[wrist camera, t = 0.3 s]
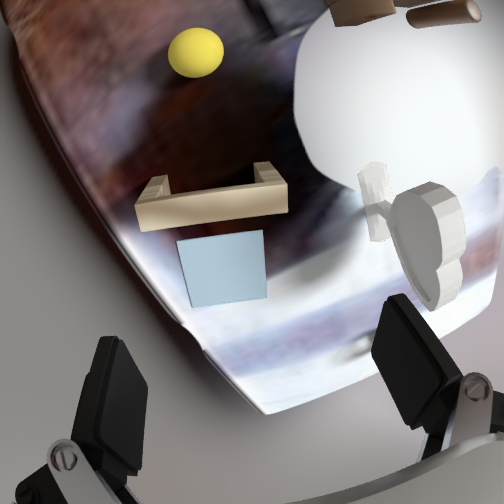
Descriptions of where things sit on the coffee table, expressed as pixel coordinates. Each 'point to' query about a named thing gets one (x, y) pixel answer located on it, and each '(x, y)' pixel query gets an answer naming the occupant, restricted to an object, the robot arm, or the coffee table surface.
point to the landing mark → (224, 268)
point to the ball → (195, 52)
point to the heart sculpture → (418, 232)
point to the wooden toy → (383, 4)
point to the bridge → (211, 201)
